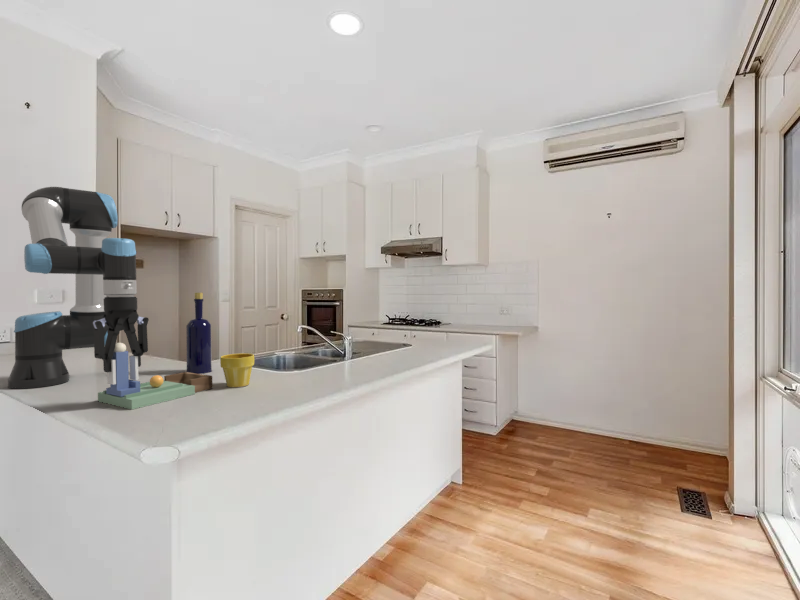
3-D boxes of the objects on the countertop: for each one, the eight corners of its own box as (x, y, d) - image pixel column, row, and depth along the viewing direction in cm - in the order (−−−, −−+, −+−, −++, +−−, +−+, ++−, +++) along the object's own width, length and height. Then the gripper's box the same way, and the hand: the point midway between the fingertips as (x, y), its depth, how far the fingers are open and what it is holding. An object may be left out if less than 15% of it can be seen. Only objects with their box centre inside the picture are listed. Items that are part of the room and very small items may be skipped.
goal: (164, 388, 129) (164, 375, 129) (185, 384, 135) (185, 371, 135) (191, 393, 123) (191, 380, 123) (212, 388, 129) (212, 375, 129)
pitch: (97, 401, 113) (97, 389, 113) (161, 388, 129) (161, 377, 129) (131, 409, 106) (131, 396, 106) (194, 394, 122) (194, 383, 122)
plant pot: (213, 386, 131) (213, 356, 131) (239, 380, 140) (239, 352, 140) (235, 390, 127) (235, 359, 126) (261, 383, 136) (261, 354, 135)
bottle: (205, 374, 151) (204, 292, 150) (180, 374, 151) (179, 292, 151) (217, 369, 160) (216, 292, 160) (193, 369, 160) (193, 292, 160)
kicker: (106, 393, 111) (105, 342, 111) (126, 389, 116) (126, 340, 115) (120, 396, 108) (120, 344, 108) (141, 392, 113) (140, 341, 112)
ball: (147, 387, 119) (146, 375, 119) (158, 385, 122) (158, 373, 122) (154, 389, 118) (154, 377, 117) (166, 386, 121) (166, 374, 121)
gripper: (90, 297, 101) (93, 390, 102) (161, 295, 117) (164, 376, 118) (74, 296, 104) (77, 387, 105) (145, 295, 121) (148, 373, 121)
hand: (123, 381), depth 112 cm, fingers open, 5 cm apart
